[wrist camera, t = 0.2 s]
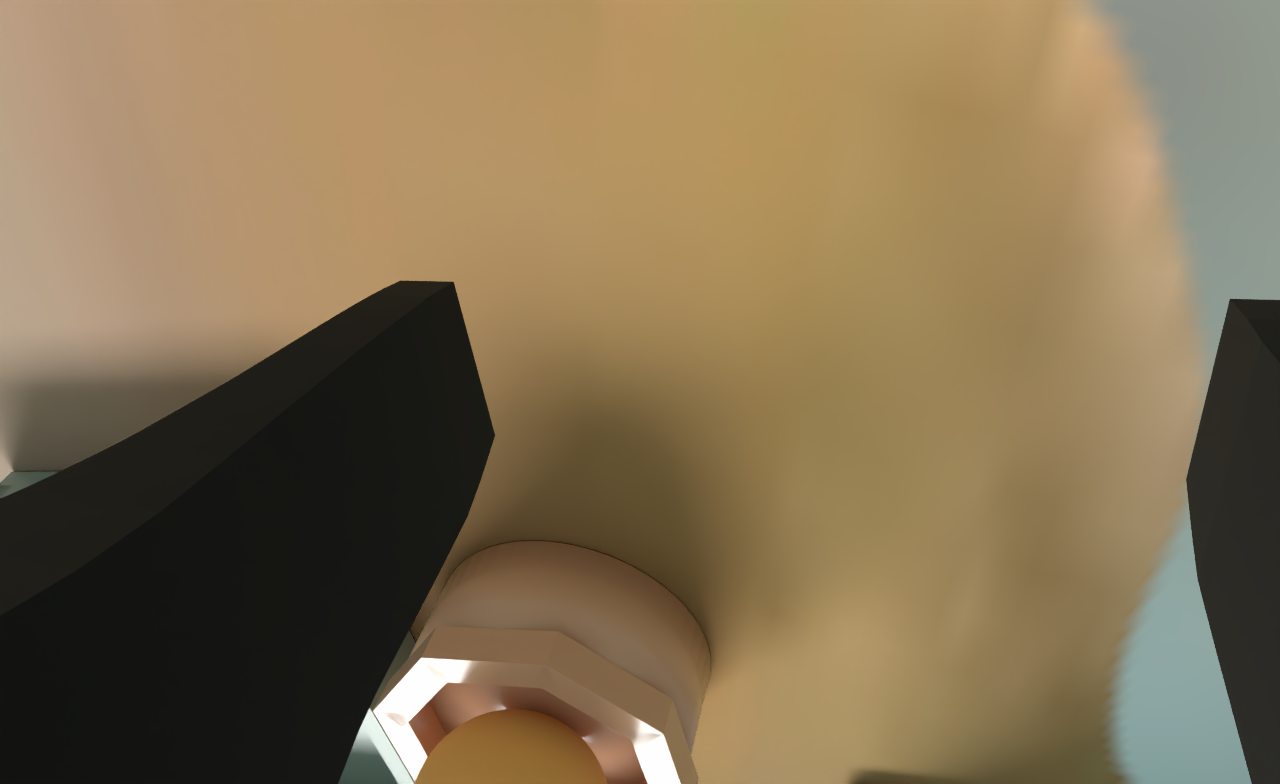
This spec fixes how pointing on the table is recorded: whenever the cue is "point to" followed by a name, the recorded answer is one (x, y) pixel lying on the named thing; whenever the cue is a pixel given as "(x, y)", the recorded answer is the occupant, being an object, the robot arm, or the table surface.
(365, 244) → the table surface
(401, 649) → the tray
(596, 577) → the pot
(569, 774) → the ball
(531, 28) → the table surface
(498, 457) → the table surface
